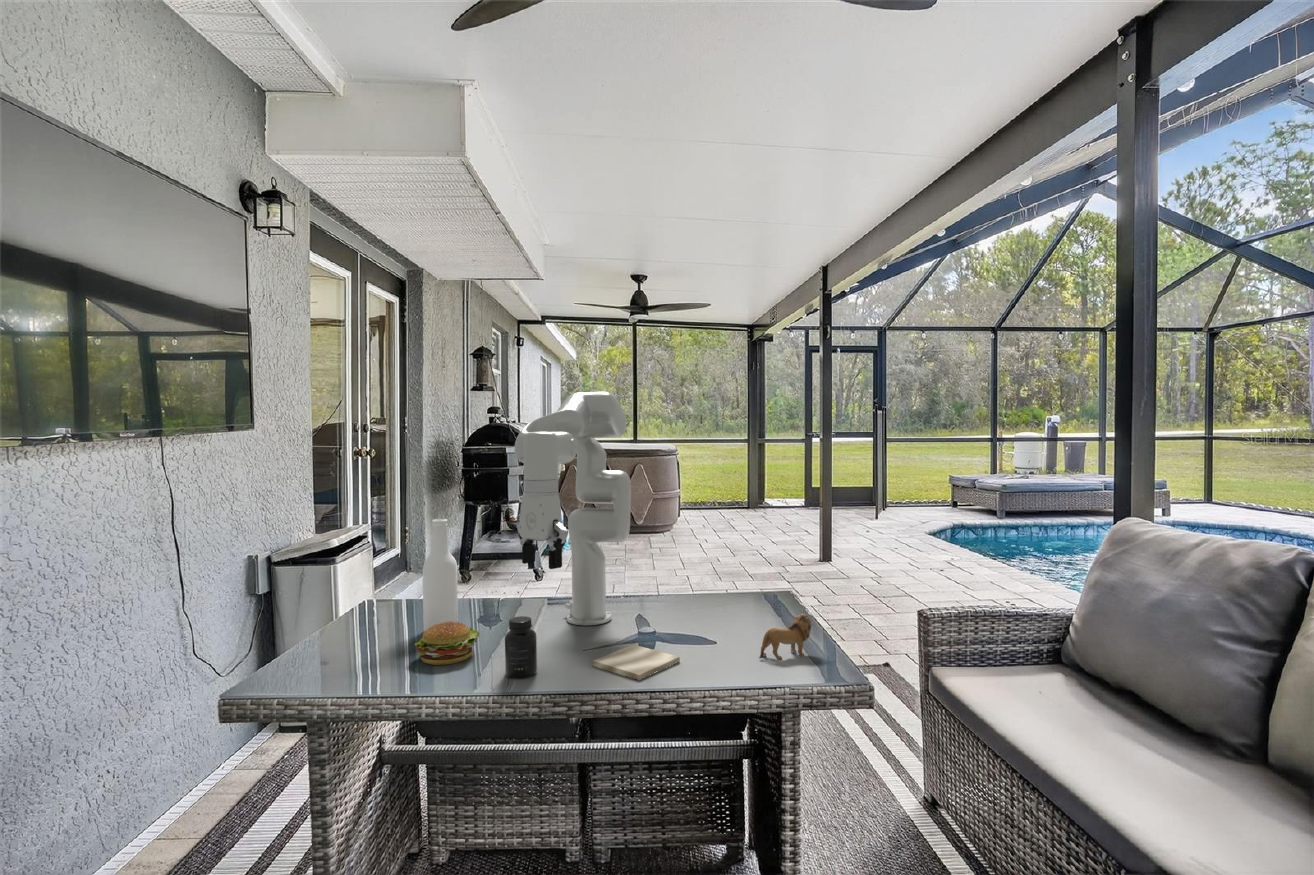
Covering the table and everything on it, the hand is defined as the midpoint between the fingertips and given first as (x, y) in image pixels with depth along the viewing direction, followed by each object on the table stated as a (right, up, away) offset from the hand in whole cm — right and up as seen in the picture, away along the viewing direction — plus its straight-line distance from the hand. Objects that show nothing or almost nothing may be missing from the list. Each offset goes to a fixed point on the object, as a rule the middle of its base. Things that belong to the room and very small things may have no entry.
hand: (541, 565), depth 140 cm
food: (-24, -24, +10) cm, 35 cm away
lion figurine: (+56, -23, +9) cm, 61 cm away
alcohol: (-33, -24, +31) cm, 51 cm away
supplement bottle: (-4, -24, -1) cm, 24 cm away
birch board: (+21, -23, +4) cm, 31 cm away
